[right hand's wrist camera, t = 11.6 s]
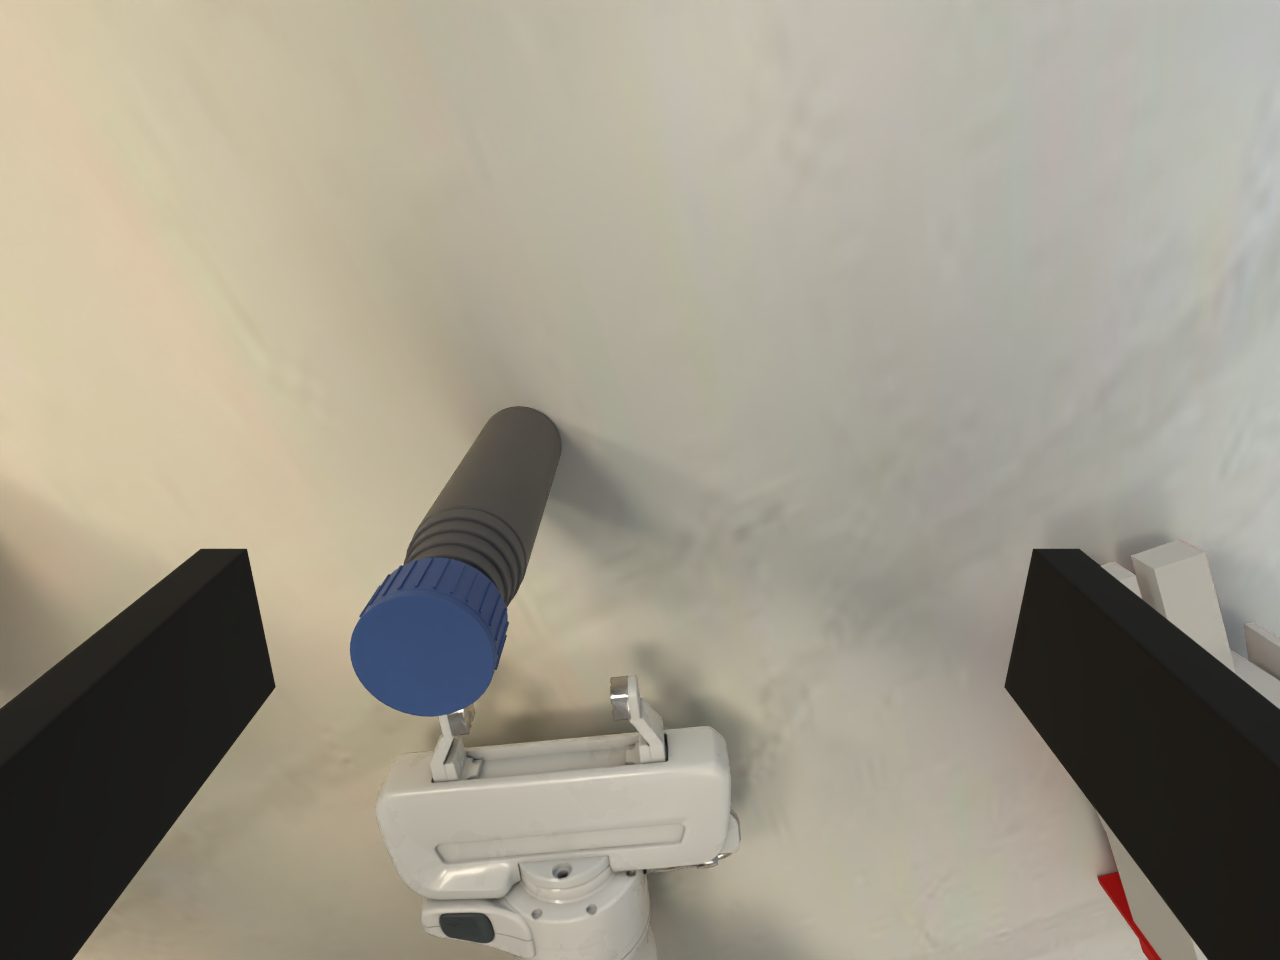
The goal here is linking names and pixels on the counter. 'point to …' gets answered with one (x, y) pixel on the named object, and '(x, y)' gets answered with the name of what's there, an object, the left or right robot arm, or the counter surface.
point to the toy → (1274, 668)
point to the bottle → (494, 500)
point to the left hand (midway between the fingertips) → (537, 690)
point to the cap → (430, 637)
